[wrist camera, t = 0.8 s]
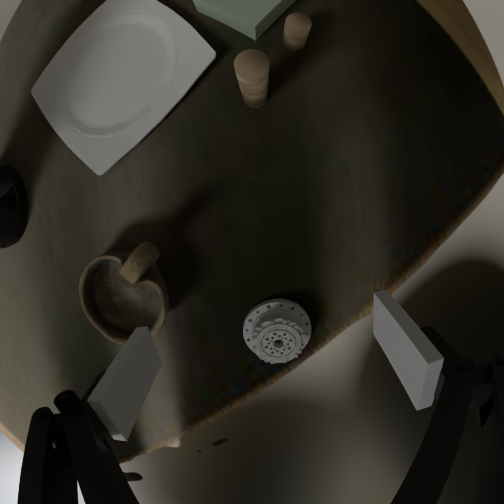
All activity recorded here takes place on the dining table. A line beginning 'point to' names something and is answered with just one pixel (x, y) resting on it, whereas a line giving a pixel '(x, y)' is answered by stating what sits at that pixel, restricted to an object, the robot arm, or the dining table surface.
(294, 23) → the short dowel
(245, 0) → the hole block
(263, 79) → the long dowel
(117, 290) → the brown mug
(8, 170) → the robot arm
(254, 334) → the mechanical component
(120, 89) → the plate
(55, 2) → the dining table surface
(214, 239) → the dining table surface
